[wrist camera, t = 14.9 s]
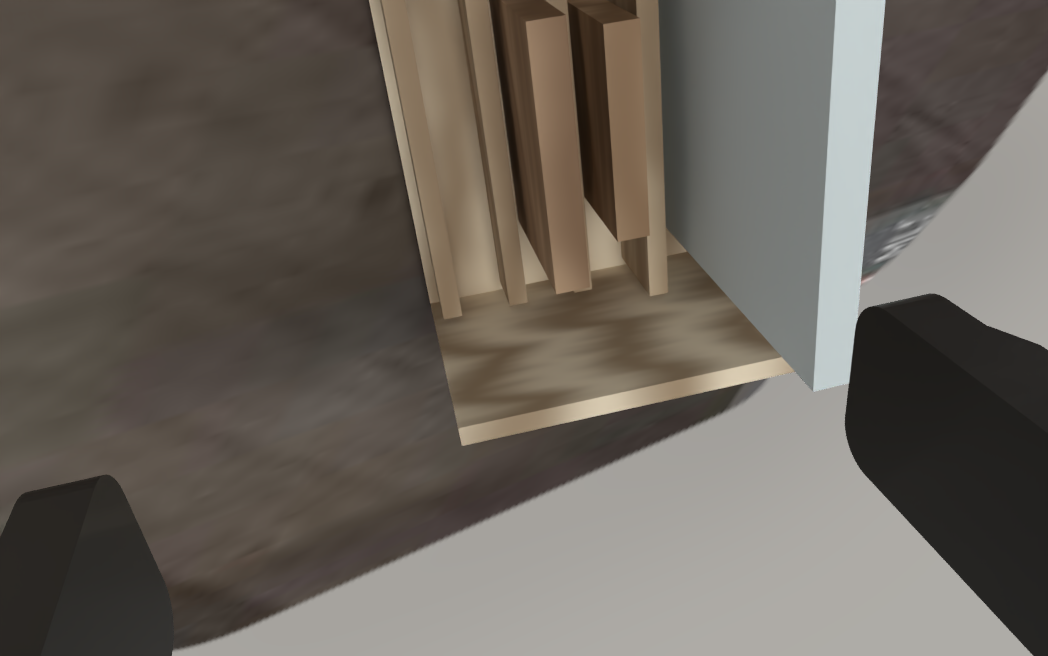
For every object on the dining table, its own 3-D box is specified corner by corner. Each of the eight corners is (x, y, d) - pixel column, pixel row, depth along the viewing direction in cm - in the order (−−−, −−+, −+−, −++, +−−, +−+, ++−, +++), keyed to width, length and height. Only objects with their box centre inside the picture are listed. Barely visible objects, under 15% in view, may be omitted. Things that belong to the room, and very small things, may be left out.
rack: (430, 306, 49) (461, 445, 38) (345, -114, 38) (352, -99, 26) (713, 249, 51) (824, 365, 39) (712, -167, 40) (868, -174, 28)
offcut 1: (518, 220, 46) (556, 294, 38) (487, -12, 40) (525, 21, 32) (546, 214, 46) (590, 287, 38) (520, -17, 40) (566, 14, 32)
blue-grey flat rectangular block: (656, 217, 47) (813, 391, 32) (639, -95, 39) (839, -61, 24) (683, 211, 48) (851, 382, 32) (672, -101, 39) (891, -70, 24)
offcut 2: (580, 191, 46) (617, 242, 40) (562, -2, 41) (603, 24, 35) (608, 185, 46) (649, 235, 40) (594, -7, 41) (640, 18, 35)
